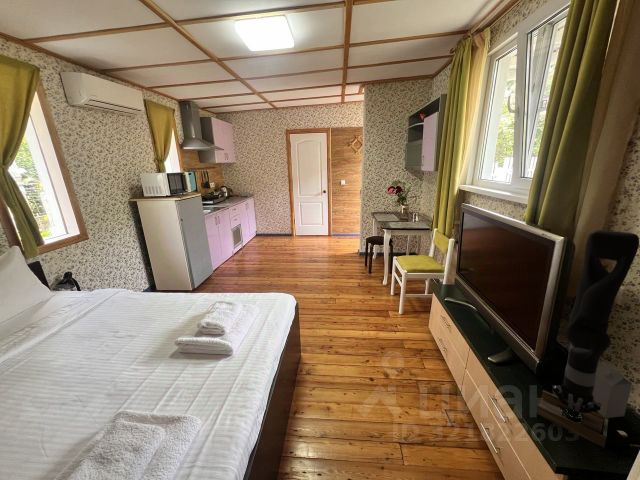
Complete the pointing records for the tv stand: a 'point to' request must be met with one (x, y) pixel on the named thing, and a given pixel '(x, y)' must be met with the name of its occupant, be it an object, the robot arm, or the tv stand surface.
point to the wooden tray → (554, 414)
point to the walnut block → (592, 422)
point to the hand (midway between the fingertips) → (572, 416)
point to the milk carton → (611, 391)
